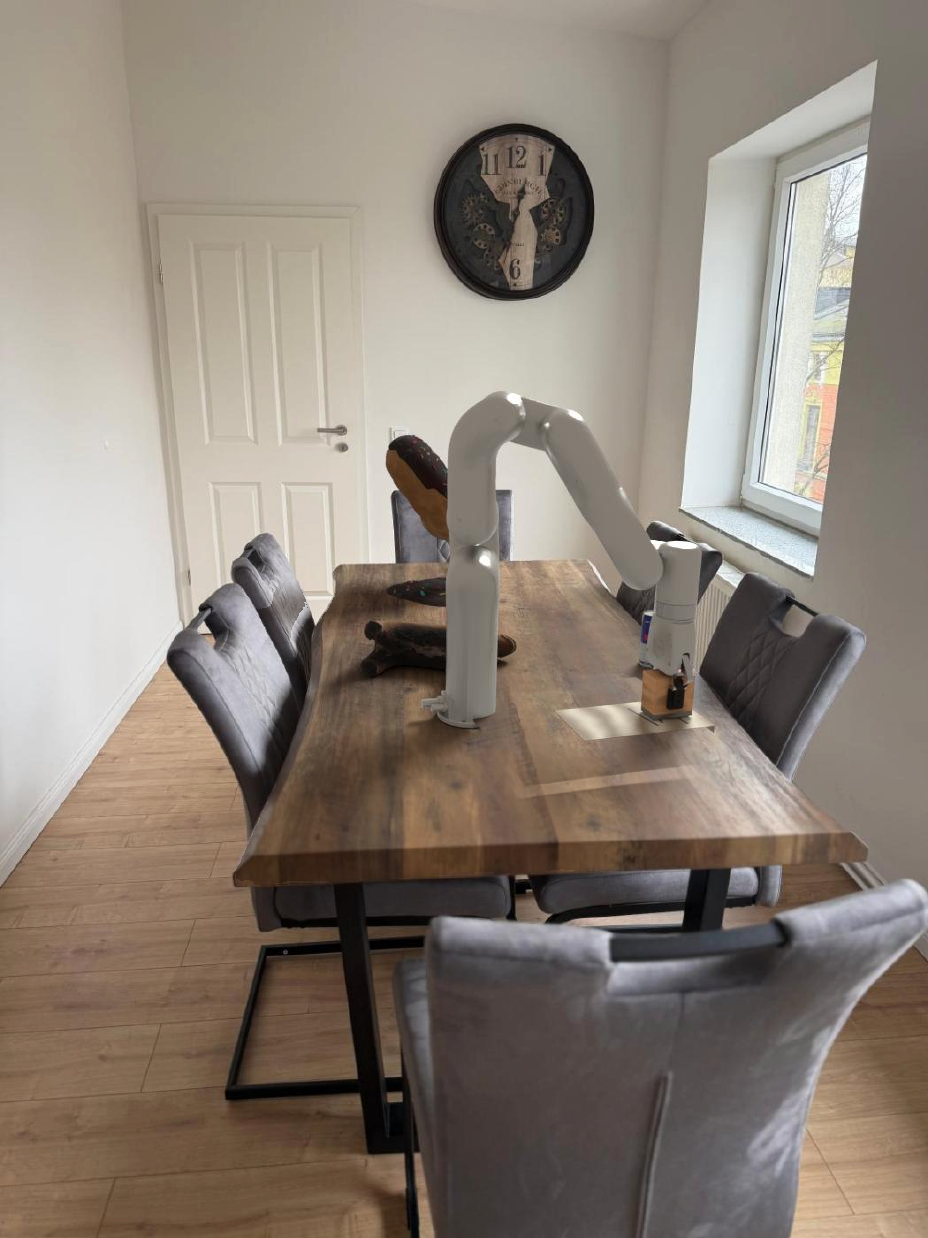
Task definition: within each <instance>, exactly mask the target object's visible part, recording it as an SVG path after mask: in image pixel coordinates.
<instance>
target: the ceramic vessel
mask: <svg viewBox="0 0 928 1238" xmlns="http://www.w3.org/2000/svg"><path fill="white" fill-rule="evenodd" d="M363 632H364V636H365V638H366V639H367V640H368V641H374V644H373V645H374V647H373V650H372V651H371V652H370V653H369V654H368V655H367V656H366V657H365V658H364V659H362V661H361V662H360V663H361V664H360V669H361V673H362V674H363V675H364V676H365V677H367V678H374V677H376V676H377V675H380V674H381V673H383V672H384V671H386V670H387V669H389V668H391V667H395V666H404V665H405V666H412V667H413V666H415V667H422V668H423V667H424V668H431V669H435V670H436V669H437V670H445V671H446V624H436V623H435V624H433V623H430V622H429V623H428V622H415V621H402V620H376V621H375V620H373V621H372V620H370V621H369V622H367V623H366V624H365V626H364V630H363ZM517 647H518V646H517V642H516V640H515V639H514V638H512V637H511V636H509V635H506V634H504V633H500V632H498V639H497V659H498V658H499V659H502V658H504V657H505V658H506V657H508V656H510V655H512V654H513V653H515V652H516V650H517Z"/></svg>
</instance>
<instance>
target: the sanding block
mask: <svg viewBox="0 0 928 1238" xmlns="http://www.w3.org/2000/svg"><path fill="white" fill-rule="evenodd" d="M678 672H681V670H680V669H679V671H678ZM693 676H694V680H693V681H692V682H691V683H689V685H688V686H687V689H685V695H684V706H683V708H682V709H674V710H668V709H667V697H668V689H671V687H670V676H669V675H667V674H665V673H663V672H662V671H660V670H659V669H652V668H651V669H645V670H643V671H642V684H641V700H640V702H641V711H642V712H644V713H645V714H646V715H647V716H649V717H650V718H651V719H653V720H659V719H667V718H675V717H683V716H691V715H692V710H693V707H694V706H693V705H694V694H695V684H696V675H695V674H694V673H693ZM678 679H681V676H676V682H677V680H678Z"/></svg>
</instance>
